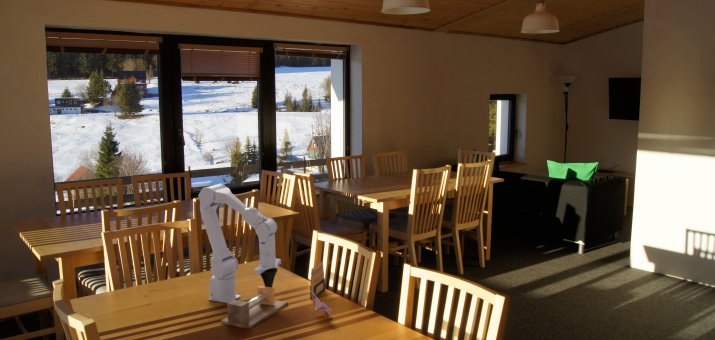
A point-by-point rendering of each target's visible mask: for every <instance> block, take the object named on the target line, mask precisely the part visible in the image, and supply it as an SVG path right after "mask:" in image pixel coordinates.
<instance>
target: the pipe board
mask: <svg viewBox="0 0 715 340" xmlns="http://www.w3.org/2000/svg"><path fill="white" fill-rule="evenodd" d="M288 305H289V302H288V301H282V300H277V299H275V304H273V305H267V304H261V303H259V304H258V305H256V306H254V307H253V308H251V309H249V302H248V301H243V300H238V299H235V300H233V301H231V302H229V303H226V306H227V308H226V309H227V317H225V318H223V319H221V320H220V324H223V325H228V326H232V327H237V328H243V329H248V330H251V329H252V328H254V327H256V326H257V325H259V324H260V323H261V322H263V321H265V320H267V319H268V318H270V317H271V316H272V315H274V314H276V313H277V312H279V311H280V310H282V309H283V308H285V307H287V306H288Z"/></svg>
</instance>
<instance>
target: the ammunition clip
mask: <svg viewBox="0 0 715 340" xmlns="http://www.w3.org/2000/svg"><path fill="white" fill-rule="evenodd" d="M309 289H310V290H311V291H312V292H313V293H314V294H315V295H316V297H317V298H318V297H319V296H320V295H323V293H324V292H325V291H326V278H325V271H324V264H323V261H321V262H319V263H318V264H316V265H315V266H313V268H311V272H310V286H309ZM310 290H309V297H310V298H309V299H310V300H313V298H314V299H315V297H314V295H313V293H312V292H311V291H310ZM315 300H316V299H315Z"/></svg>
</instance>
